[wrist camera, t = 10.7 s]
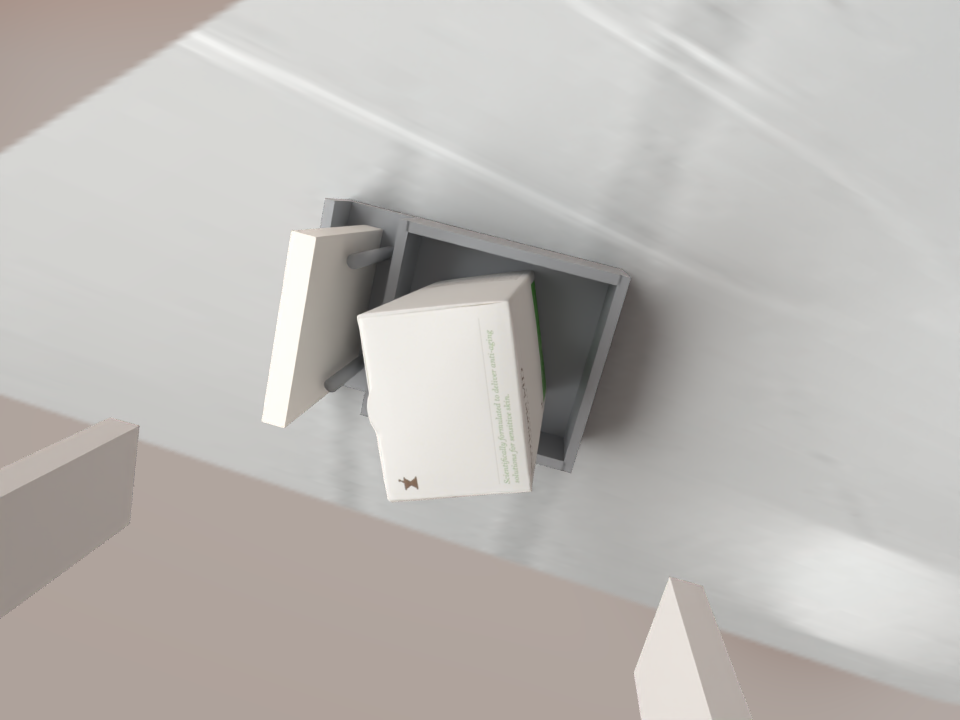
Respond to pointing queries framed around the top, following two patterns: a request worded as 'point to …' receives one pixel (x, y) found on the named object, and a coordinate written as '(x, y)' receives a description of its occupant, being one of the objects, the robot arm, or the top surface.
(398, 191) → the top surface
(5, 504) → the robot arm
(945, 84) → the top surface
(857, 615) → the top surface
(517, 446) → the skincare box
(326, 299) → the grey open box
